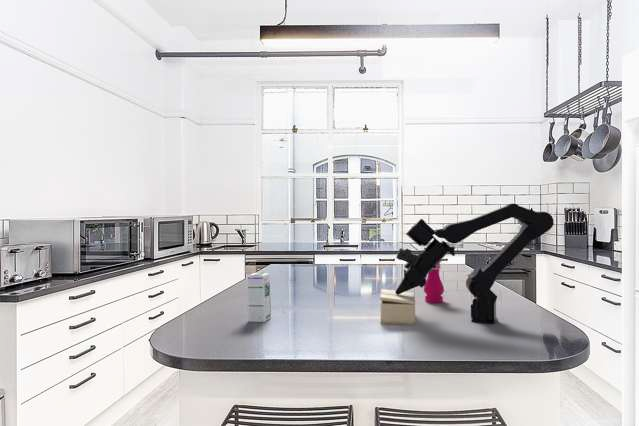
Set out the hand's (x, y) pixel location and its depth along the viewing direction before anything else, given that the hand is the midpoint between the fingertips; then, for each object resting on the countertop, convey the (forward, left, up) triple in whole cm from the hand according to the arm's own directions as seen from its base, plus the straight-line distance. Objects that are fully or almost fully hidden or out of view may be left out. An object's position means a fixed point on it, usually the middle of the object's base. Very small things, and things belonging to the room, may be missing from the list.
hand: (396, 293), depth 143 cm
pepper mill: (-2, -32, -8) cm, 33 cm away
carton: (0, 0, -8) cm, 8 cm away
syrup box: (+38, +20, -8) cm, 44 cm away
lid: (0, 0, -1) cm, 1 cm away
